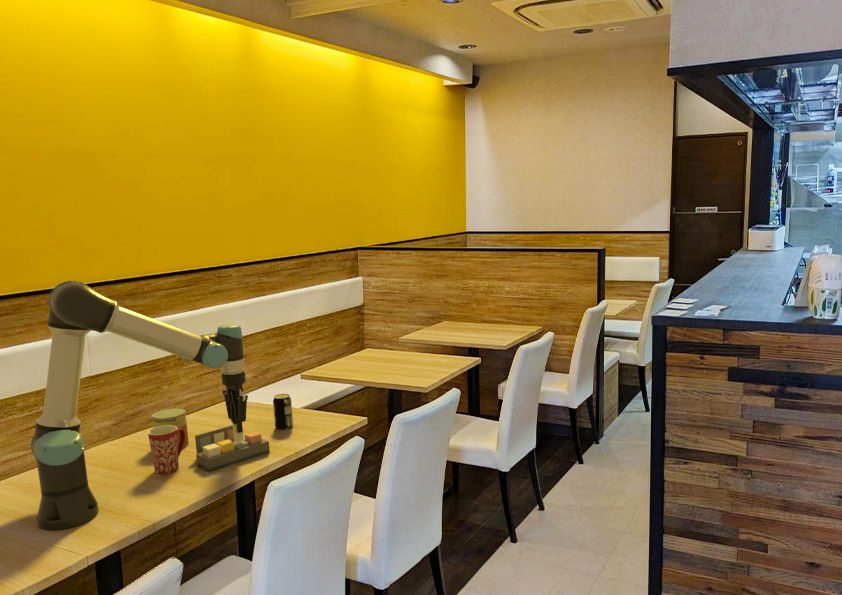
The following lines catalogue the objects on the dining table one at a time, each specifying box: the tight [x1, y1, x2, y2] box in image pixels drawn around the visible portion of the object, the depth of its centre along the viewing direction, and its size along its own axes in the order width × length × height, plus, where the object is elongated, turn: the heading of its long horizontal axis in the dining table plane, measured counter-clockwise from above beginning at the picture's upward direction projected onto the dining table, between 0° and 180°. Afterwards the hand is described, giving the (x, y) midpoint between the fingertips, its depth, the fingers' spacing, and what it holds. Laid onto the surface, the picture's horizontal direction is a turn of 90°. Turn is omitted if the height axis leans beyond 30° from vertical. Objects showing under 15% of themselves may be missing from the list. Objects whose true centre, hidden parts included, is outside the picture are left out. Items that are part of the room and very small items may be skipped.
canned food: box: [151, 407, 190, 450], centre depth 250 cm, size 11×11×12 cm
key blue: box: [234, 441, 248, 449], centre depth 236 cm, size 4×4×4 cm
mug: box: [147, 425, 185, 475], centre depth 229 cm, size 13×9×14 cm
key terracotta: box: [243, 430, 263, 445], centre depth 239 cm, size 4×4×4 cm
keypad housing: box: [195, 437, 270, 473], centre depth 235 cm, size 22×8×4 cm, turn 133°
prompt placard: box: [194, 424, 234, 454], centre depth 242 cm, size 16×1×8 cm, turn 133°
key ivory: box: [203, 444, 221, 458], centre depth 229 cm, size 4×4×4 cm
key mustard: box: [217, 439, 235, 453], centre depth 232 cm, size 4×4×4 cm
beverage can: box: [272, 393, 294, 430], centre depth 264 cm, size 7×7×12 cm
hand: (238, 441), depth 236 cm, fingers closed
